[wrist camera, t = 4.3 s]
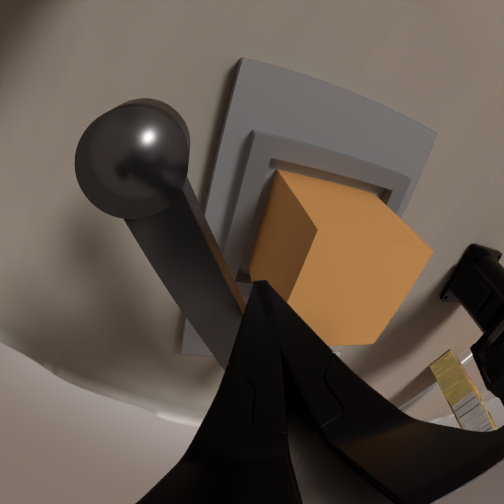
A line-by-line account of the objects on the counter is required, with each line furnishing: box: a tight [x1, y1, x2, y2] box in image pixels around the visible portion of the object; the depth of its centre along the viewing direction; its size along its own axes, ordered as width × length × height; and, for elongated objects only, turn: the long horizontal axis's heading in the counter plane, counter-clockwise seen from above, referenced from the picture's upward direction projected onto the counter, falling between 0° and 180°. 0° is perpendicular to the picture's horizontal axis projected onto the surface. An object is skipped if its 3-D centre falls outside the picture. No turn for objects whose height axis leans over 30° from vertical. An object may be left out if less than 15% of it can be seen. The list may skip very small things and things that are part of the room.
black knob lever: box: [75, 98, 246, 370], centre depth 14 cm, size 19×2×8 cm, turn 18°
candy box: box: [429, 350, 497, 432], centre depth 30 cm, size 9×4×15 cm, turn 47°
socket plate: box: [181, 58, 437, 357], centre depth 18 cm, size 12×20×2 cm, turn 166°
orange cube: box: [248, 169, 433, 346], centre depth 15 cm, size 6×6×6 cm
